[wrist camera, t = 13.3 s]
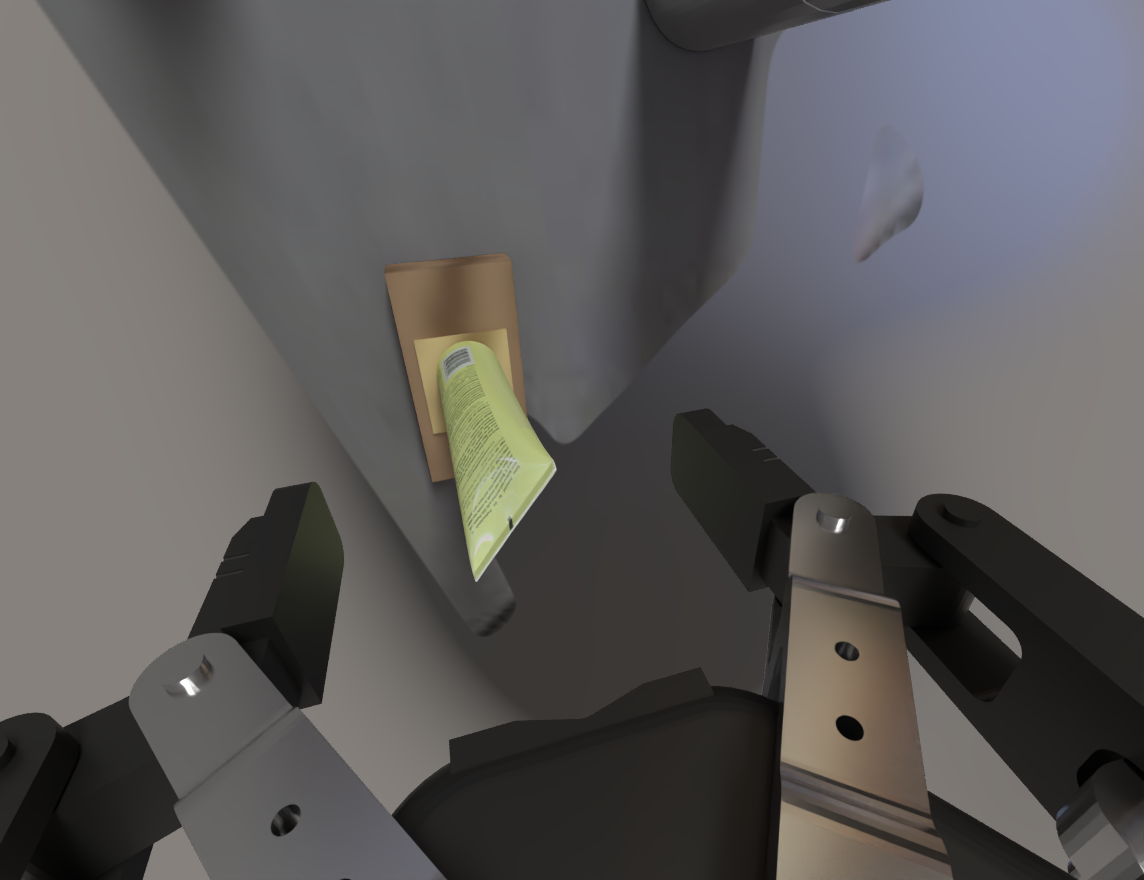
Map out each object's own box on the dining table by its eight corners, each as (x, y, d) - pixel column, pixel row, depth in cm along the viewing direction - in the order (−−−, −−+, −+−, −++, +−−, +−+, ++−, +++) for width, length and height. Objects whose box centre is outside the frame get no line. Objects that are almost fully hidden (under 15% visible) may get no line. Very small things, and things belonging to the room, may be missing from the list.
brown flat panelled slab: (504, 252, 40) (521, 272, 34) (525, 446, 49) (541, 488, 44) (385, 265, 38) (382, 288, 32) (430, 464, 48) (434, 509, 42)
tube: (506, 396, 43) (571, 556, 26) (445, 411, 42) (474, 585, 26) (493, 332, 39) (557, 468, 23) (427, 345, 39) (447, 497, 22)
